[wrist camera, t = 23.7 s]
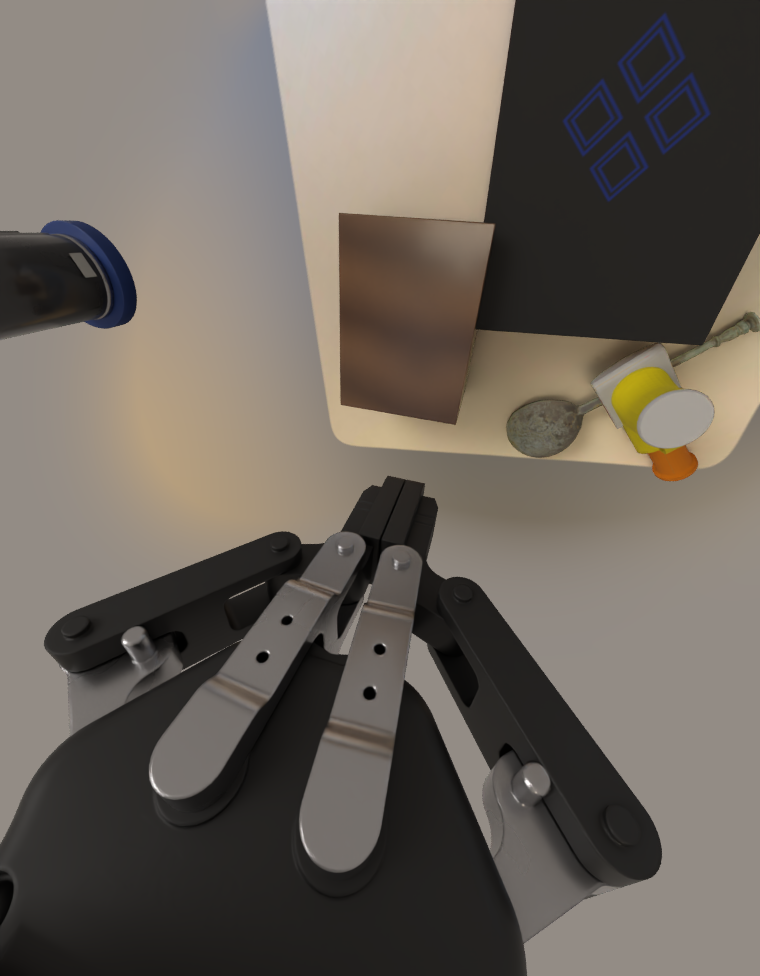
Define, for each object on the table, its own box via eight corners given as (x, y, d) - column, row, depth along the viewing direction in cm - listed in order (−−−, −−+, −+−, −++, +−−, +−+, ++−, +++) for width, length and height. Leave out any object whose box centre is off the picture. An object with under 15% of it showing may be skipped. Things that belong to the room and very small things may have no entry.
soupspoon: (496, 415, 42) (523, 459, 44) (493, 427, 40) (522, 473, 41) (740, 284, 30) (765, 353, 32) (759, 289, 27) (786, 363, 29)
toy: (633, 433, 26) (580, 372, 33) (689, 534, 33) (635, 465, 40) (722, 386, 24) (644, 331, 31) (762, 506, 31) (690, 438, 38)
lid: (342, 213, 28) (338, 213, 27) (496, 223, 26) (495, 223, 25) (343, 401, 37) (340, 404, 36) (456, 421, 35) (455, 425, 34)
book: (919, -223, 18) (1091, -411, 12) (672, 327, 32) (703, 346, 27) (542, -147, 21) (553, -266, 16) (474, 314, 36) (468, 329, 31)
